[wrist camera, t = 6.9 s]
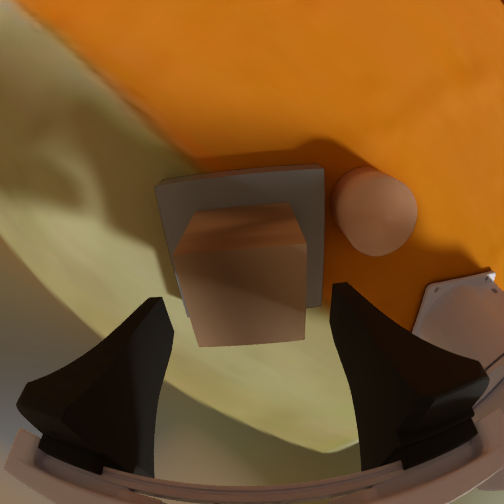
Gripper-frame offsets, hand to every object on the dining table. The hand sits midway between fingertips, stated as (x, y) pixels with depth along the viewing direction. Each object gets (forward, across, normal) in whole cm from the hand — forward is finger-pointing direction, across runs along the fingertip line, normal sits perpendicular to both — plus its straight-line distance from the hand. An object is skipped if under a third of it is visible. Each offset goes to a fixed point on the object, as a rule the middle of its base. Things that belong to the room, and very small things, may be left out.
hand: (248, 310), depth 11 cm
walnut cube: (+5, 0, 0) cm, 5 cm away
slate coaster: (+7, 0, 0) cm, 7 cm away
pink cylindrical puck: (+7, -7, -2) cm, 10 cm away
